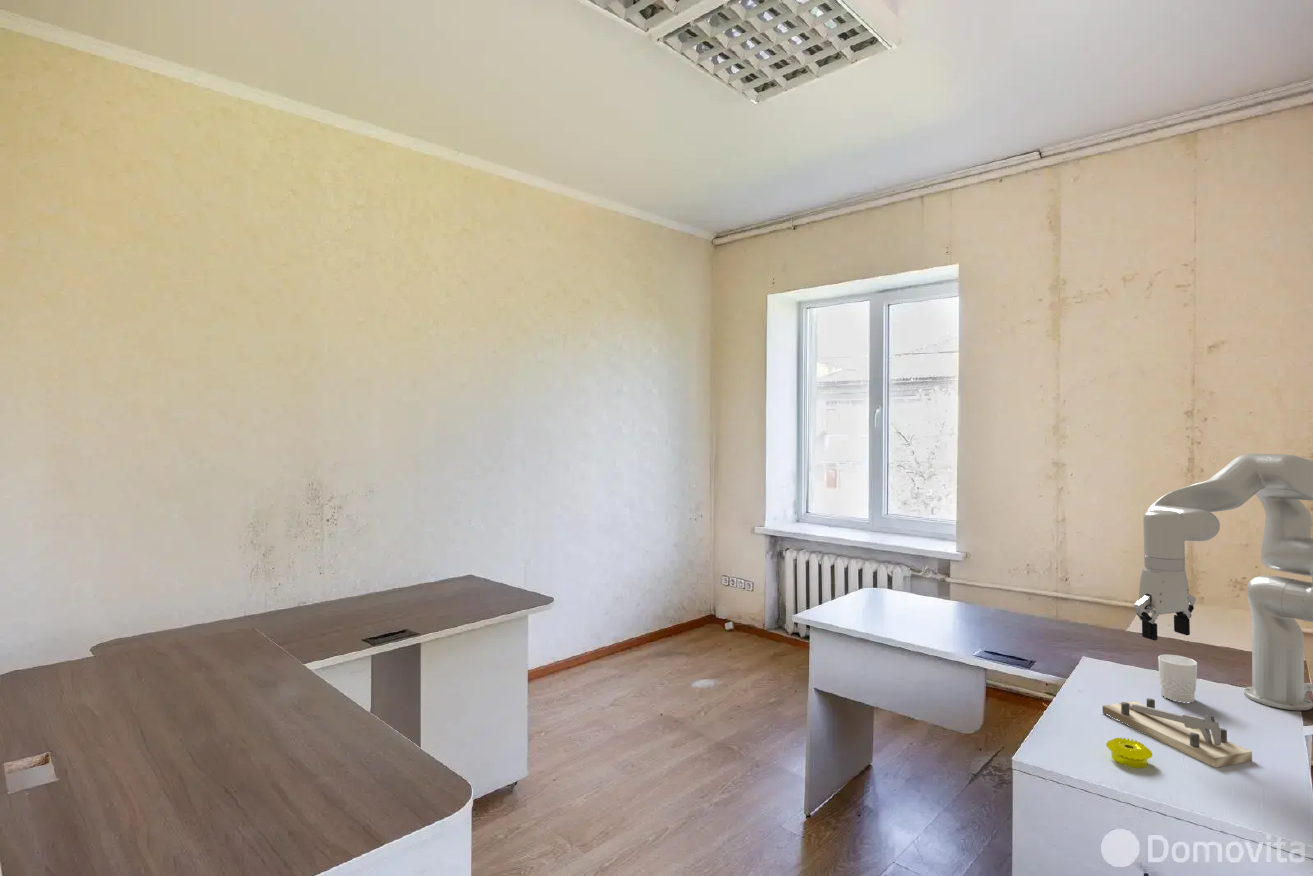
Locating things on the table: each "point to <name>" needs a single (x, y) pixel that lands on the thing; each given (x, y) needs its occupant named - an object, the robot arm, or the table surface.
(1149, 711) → the caliper
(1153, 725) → the tool rest
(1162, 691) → the white cup
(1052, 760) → the table surface
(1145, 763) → the gear
